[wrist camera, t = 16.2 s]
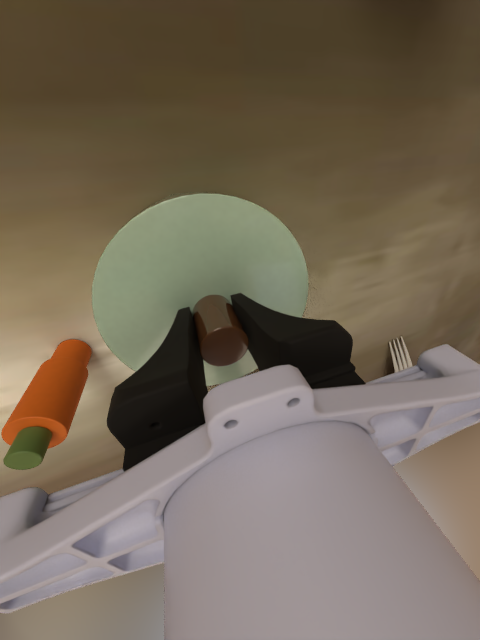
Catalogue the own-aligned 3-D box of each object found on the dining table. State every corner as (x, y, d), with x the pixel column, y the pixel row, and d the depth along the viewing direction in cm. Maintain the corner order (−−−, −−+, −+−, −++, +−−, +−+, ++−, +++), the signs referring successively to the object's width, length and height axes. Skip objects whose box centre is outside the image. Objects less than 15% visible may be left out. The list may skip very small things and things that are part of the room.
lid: (334, 236, 15) (390, 259, 11) (258, 381, 20) (279, 428, 16) (109, 143, 10) (78, 129, 6) (88, 369, 15) (64, 434, 11)
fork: (370, 412, 44) (381, 426, 42) (385, 343, 30) (402, 359, 28) (383, 405, 44) (395, 419, 42) (404, 334, 30) (423, 349, 28)
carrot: (97, 338, 19) (58, 442, 12) (94, 366, 21) (57, 474, 13) (52, 333, 18) (-20, 445, 11) (52, 363, 20) (-13, 480, 12)
